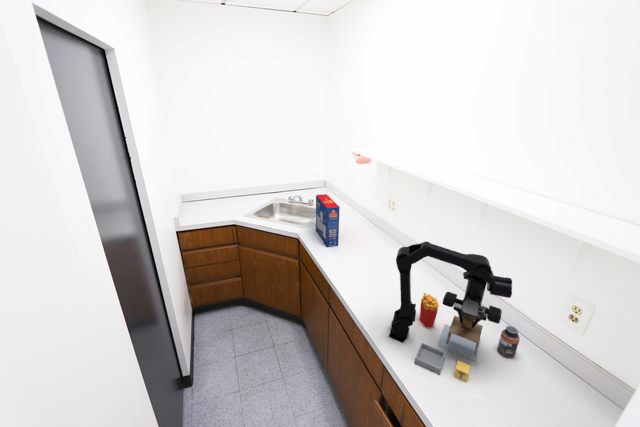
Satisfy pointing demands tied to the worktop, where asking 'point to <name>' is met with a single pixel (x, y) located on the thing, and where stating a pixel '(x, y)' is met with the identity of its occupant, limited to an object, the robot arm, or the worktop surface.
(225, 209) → the worktop surface
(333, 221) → the pasta box
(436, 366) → the tray
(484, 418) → the worktop surface
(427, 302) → the french fries
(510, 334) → the supplement bottle
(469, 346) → the mat
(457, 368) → the letter cube
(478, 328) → the brown knobbed box
